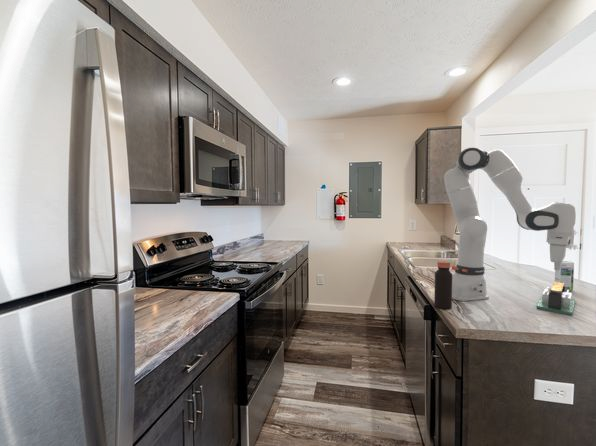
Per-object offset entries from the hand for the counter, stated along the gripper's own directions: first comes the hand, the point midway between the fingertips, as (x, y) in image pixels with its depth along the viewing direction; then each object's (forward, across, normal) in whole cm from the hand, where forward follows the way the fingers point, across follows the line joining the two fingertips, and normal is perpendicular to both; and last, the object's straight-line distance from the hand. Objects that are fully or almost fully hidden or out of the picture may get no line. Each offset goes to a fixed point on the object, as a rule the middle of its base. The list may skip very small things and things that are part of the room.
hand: (557, 269), depth 128 cm
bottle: (+17, +40, -34) cm, 55 cm away
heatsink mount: (+15, +3, +1) cm, 15 cm away
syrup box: (+15, -32, +1) cm, 35 cm away
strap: (+8, +2, +1) cm, 8 cm away
